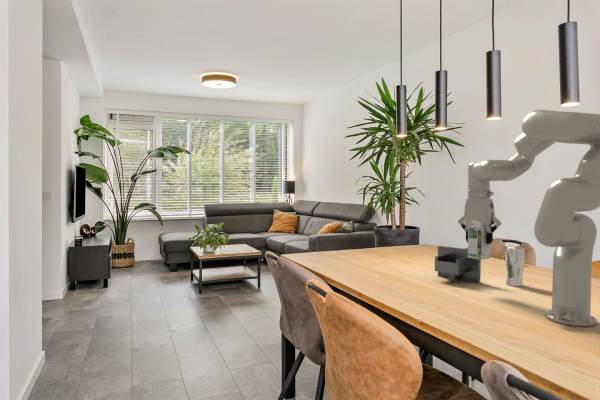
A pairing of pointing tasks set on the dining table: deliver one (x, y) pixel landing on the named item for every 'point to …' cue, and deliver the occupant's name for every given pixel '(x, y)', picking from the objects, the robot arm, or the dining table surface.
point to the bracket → (457, 264)
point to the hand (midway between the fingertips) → (479, 242)
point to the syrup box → (477, 241)
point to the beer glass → (514, 265)
